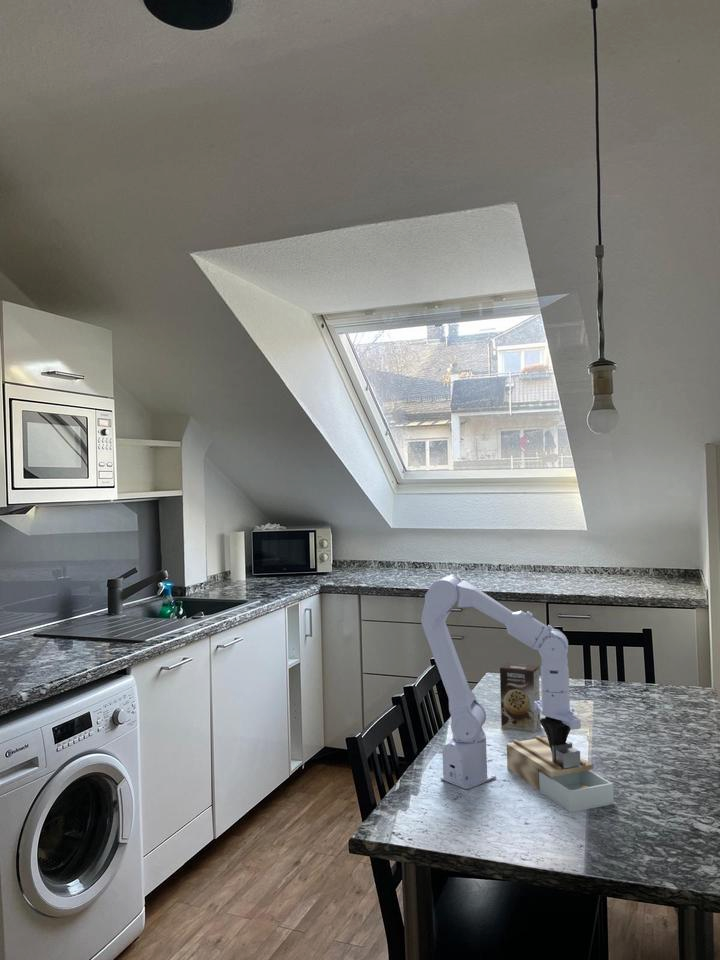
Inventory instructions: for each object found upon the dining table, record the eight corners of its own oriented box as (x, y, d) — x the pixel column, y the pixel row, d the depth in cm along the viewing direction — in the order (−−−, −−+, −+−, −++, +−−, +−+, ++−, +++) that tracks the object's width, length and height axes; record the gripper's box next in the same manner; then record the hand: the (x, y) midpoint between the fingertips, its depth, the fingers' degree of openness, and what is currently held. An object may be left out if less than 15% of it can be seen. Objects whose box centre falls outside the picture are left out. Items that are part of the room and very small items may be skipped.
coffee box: (500, 729, 194) (498, 667, 194) (507, 721, 200) (505, 661, 200) (535, 733, 190) (533, 670, 190) (541, 726, 195) (539, 664, 196)
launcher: (507, 768, 167) (506, 740, 168) (546, 761, 171) (545, 734, 171) (552, 799, 150) (550, 768, 150) (594, 791, 154) (592, 761, 154)
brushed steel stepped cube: (552, 762, 155) (551, 744, 155) (570, 759, 156) (569, 741, 156) (562, 768, 151) (562, 750, 151) (581, 765, 153) (580, 747, 153)
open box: (539, 790, 155) (538, 771, 155) (580, 783, 158) (580, 764, 158) (570, 812, 144) (569, 791, 144) (613, 803, 147) (613, 783, 147)
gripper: (592, 695, 151) (594, 762, 151) (552, 678, 165) (554, 740, 165) (562, 699, 149) (565, 767, 149) (524, 682, 163) (526, 744, 163)
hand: (557, 753), depth 157 cm, fingers closed
